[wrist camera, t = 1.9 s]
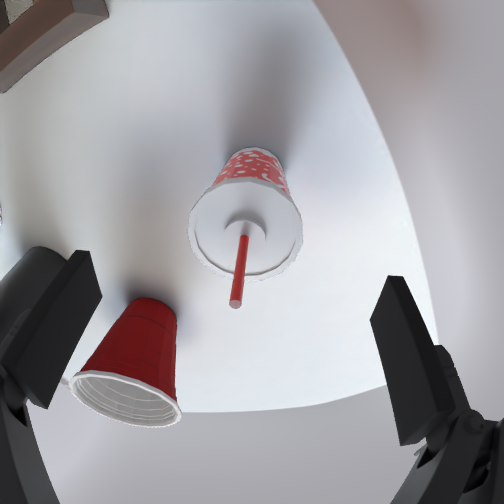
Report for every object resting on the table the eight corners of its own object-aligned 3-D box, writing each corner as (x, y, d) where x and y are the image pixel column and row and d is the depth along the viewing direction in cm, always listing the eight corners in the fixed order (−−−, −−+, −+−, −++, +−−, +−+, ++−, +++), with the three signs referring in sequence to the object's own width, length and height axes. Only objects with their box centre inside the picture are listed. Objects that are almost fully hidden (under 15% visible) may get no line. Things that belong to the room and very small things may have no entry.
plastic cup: (179, 357, 38) (159, 441, 28) (102, 320, 35) (65, 401, 25) (218, 310, 32) (200, 413, 22) (124, 262, 29) (72, 357, 19)
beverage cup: (301, 200, 25) (324, 339, 13) (229, 218, 26) (197, 358, 14) (281, 127, 21) (293, 218, 10) (202, 151, 23) (132, 259, 11)
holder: (-18, -4, 12) (-52, -1, 8) (80, -84, 10) (48, -98, 5) (5, 92, 19) (-31, 105, 15) (109, 17, 16) (74, 12, 12)
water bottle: (10, 261, 31) (-86, 402, 12) (43, 224, 27) (-88, 401, 8) (61, 316, 35) (-11, 463, 16) (102, 292, 32) (17, 481, 13)
